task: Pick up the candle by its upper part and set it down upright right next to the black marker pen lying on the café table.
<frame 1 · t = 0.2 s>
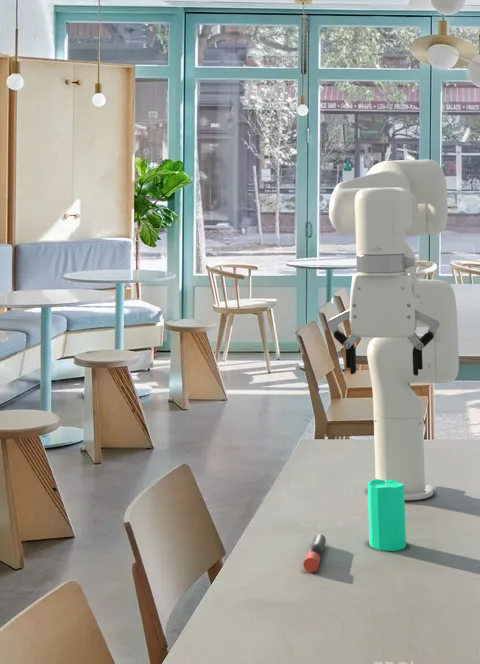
hand: (384, 373, 162), 31 cm above the table, tool pointing down, fingers open, 9 cm apart
marker: (315, 557, 168), on the table
candle: (387, 546, 174), on the table
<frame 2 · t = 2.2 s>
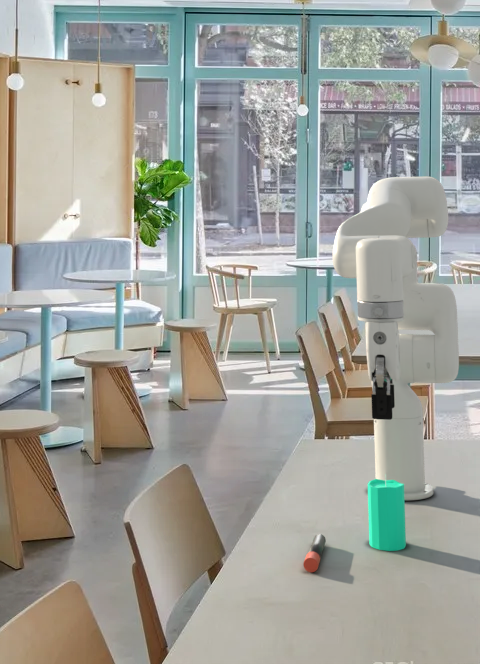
hand: (383, 413, 172), 23 cm above the table, tool pointing down, fingers open, 9 cm apart
nothing on the table moved.
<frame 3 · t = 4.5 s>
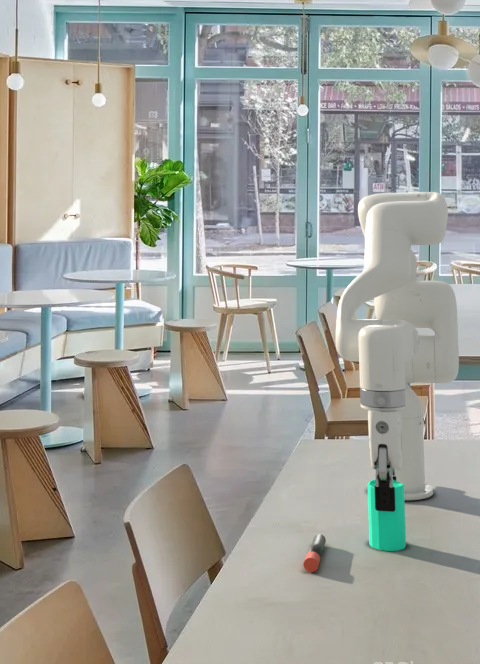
hand: (386, 503, 174), 7 cm above the table, tool pointing down, fingers closed on candle, 6 cm apart
candle: (387, 546, 174), on the table, touching gripper
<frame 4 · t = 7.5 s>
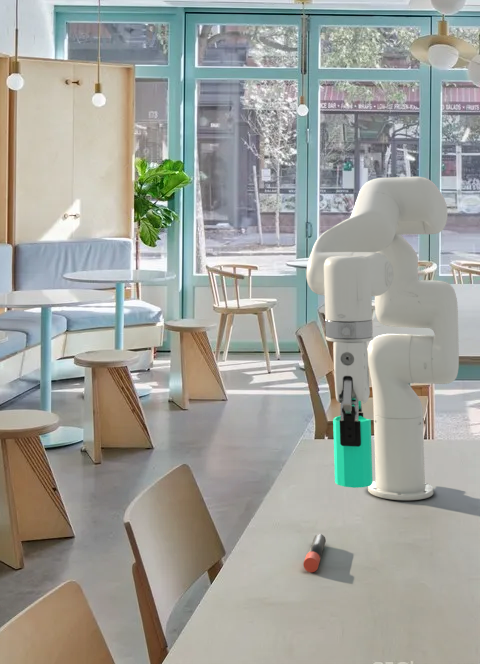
hand: (352, 440, 167), 19 cm above the table, tool pointing down, fingers closed on candle, 6 cm apart
candle: (353, 483, 167), point 12 cm above the table, touching gripper
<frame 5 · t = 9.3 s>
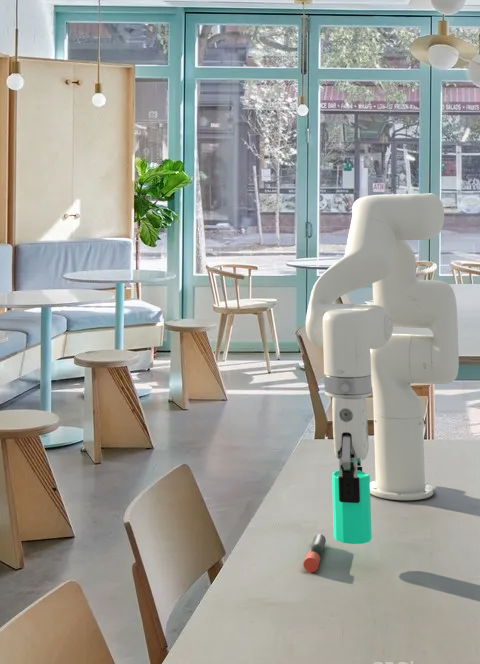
hand: (351, 495, 167), 11 cm above the table, tool pointing down, fingers closed on candle, 6 cm apart
candle: (352, 539, 167), point 3 cm above the table, touching gripper
when the fingers open (7 cm above the table, at t = 10.7 s): candle stays where it is, on the table.
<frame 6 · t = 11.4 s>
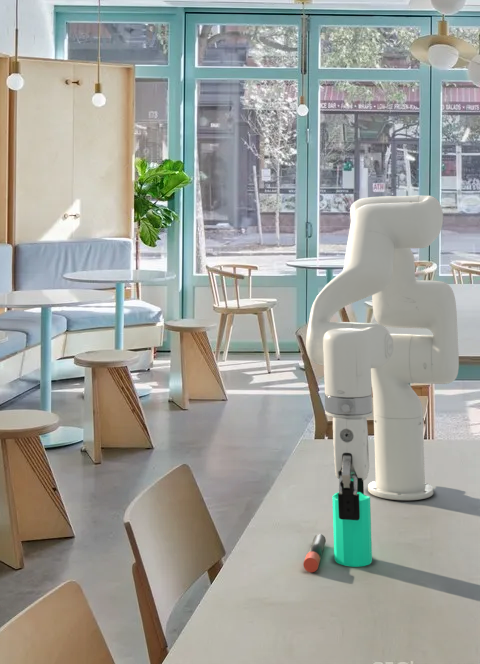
hand: (351, 510, 167), 8 cm above the table, tool pointing down, fingers open, 9 cm apart
candle: (353, 561, 167), on the table
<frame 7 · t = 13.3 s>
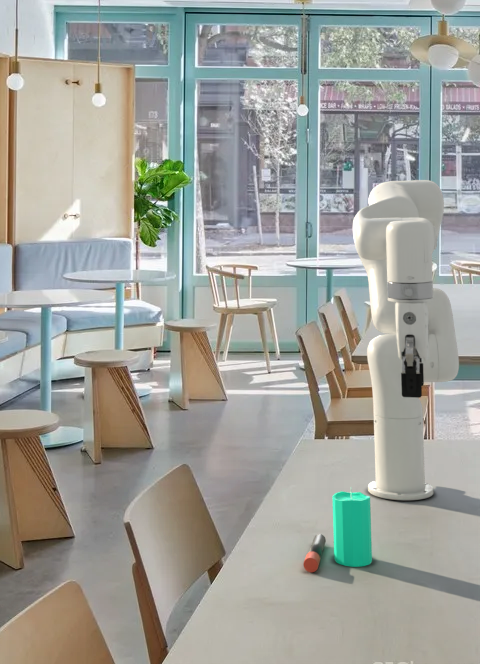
hand: (413, 391, 176), 26 cm above the table, tool pointing down, fingers open, 9 cm apart
nothing on the table moved.
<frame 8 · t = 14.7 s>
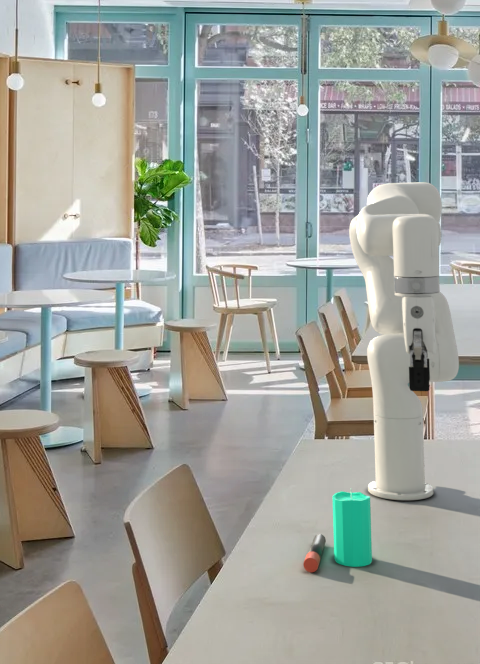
hand: (420, 385, 177), 26 cm above the table, tool pointing down, fingers open, 9 cm apart
nothing on the table moved.
at the end: candle 6.0 cm from the marker (horizontally); candle tilted 0°; the gripper is holding nothing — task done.
